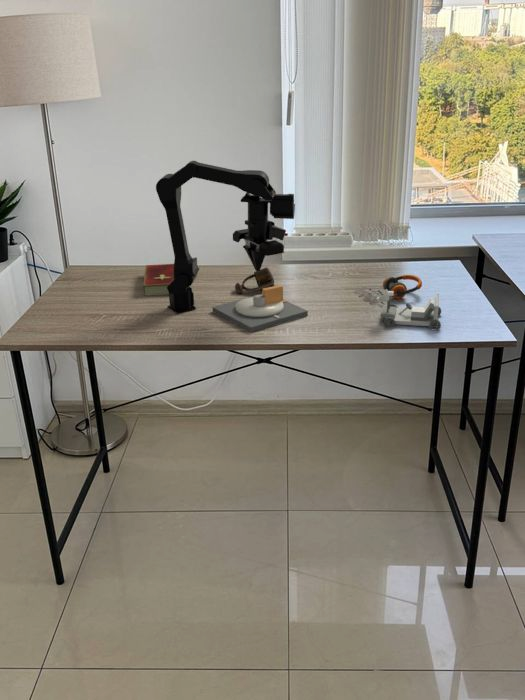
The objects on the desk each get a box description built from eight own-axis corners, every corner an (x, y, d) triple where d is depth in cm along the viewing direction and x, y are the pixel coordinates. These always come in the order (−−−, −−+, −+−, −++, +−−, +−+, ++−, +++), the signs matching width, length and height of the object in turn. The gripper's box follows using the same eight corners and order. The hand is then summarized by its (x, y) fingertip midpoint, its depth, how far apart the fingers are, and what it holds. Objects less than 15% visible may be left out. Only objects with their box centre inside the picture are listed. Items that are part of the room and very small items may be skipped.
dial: (249, 320, 206) (249, 302, 203) (227, 305, 217) (226, 288, 215) (293, 310, 212) (293, 292, 210) (270, 296, 223) (269, 279, 221)
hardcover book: (182, 274, 251) (181, 262, 250) (182, 295, 232) (181, 282, 231) (147, 276, 250) (145, 264, 249) (144, 297, 231) (142, 284, 230)
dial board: (250, 332, 202) (250, 326, 202) (212, 311, 217) (212, 306, 217) (307, 315, 213) (307, 309, 212) (267, 296, 228) (267, 291, 227)
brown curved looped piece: (275, 280, 226) (278, 263, 234) (234, 276, 226) (238, 259, 234) (273, 299, 230) (276, 282, 238) (233, 295, 231) (237, 278, 239)
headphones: (349, 283, 230) (406, 263, 232) (352, 298, 232) (408, 278, 235) (370, 301, 215) (430, 279, 218) (373, 316, 218) (432, 295, 220)
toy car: (375, 293, 201) (379, 280, 211) (374, 327, 205) (377, 312, 215) (443, 297, 197) (443, 283, 207) (440, 331, 201) (440, 315, 211)
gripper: (300, 221, 203) (299, 274, 209) (263, 207, 217) (263, 257, 223) (266, 226, 197) (266, 281, 204) (231, 211, 211) (232, 263, 218)
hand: (257, 270), depth 212 cm, fingers closed
